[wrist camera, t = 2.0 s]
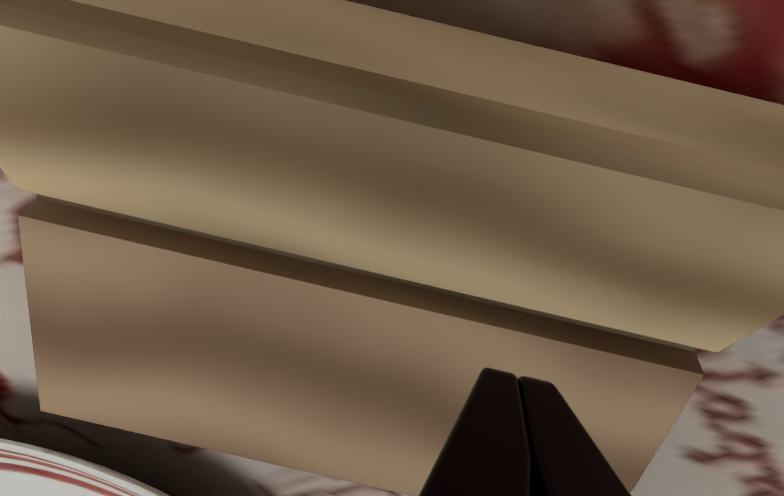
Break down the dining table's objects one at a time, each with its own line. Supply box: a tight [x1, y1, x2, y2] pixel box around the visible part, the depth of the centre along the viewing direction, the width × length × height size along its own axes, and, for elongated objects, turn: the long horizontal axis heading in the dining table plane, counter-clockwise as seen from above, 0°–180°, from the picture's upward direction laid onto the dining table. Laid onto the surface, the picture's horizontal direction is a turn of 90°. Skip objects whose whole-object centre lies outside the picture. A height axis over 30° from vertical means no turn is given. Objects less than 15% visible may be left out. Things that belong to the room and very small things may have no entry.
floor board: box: [18, 194, 704, 496], centre depth 22 cm, size 9×20×2 cm, turn 78°
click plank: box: [0, 0, 784, 352], centre depth 16 cm, size 8×20×2 cm, turn 79°
